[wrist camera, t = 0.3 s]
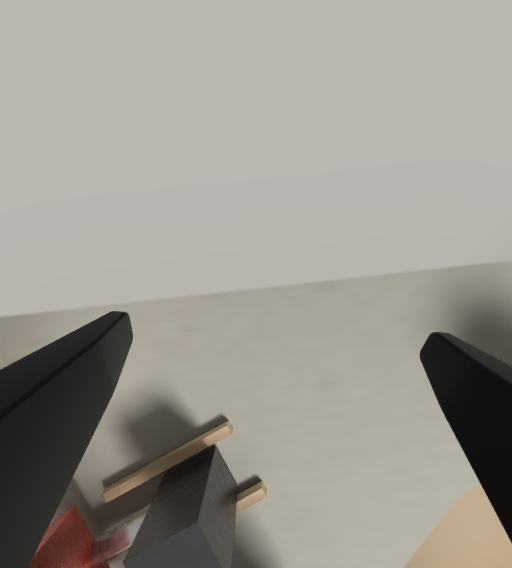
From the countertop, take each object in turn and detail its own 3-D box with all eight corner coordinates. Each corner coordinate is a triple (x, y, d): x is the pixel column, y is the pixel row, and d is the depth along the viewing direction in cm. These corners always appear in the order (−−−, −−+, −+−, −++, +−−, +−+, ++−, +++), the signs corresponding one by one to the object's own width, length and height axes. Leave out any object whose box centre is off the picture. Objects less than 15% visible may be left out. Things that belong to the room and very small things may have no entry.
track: (266, 488, 22) (266, 496, 21) (144, 555, 22) (140, 565, 21) (228, 420, 22) (227, 425, 21) (107, 487, 22) (101, 494, 21)
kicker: (249, 507, 22) (246, 611, 15) (117, 579, 22) (52, 717, 15) (204, 426, 22) (180, 492, 15) (72, 498, 22) (-13, 599, 15)
